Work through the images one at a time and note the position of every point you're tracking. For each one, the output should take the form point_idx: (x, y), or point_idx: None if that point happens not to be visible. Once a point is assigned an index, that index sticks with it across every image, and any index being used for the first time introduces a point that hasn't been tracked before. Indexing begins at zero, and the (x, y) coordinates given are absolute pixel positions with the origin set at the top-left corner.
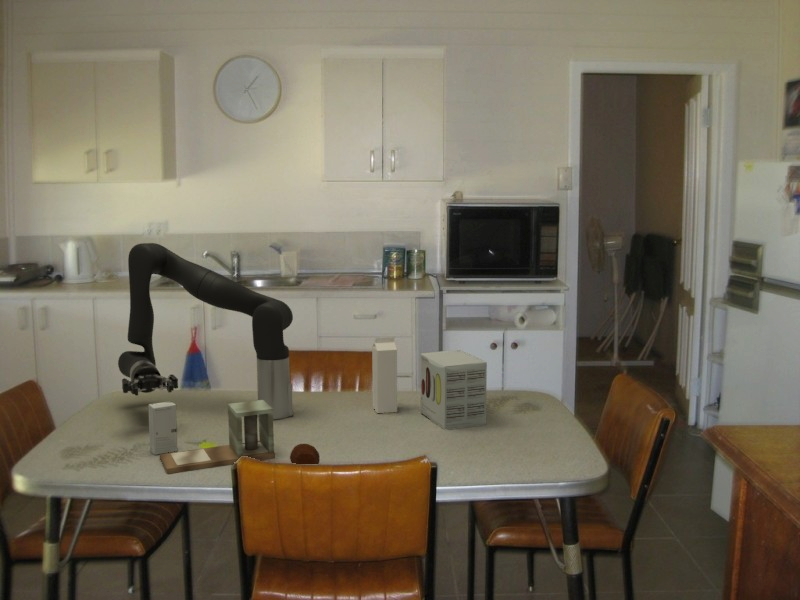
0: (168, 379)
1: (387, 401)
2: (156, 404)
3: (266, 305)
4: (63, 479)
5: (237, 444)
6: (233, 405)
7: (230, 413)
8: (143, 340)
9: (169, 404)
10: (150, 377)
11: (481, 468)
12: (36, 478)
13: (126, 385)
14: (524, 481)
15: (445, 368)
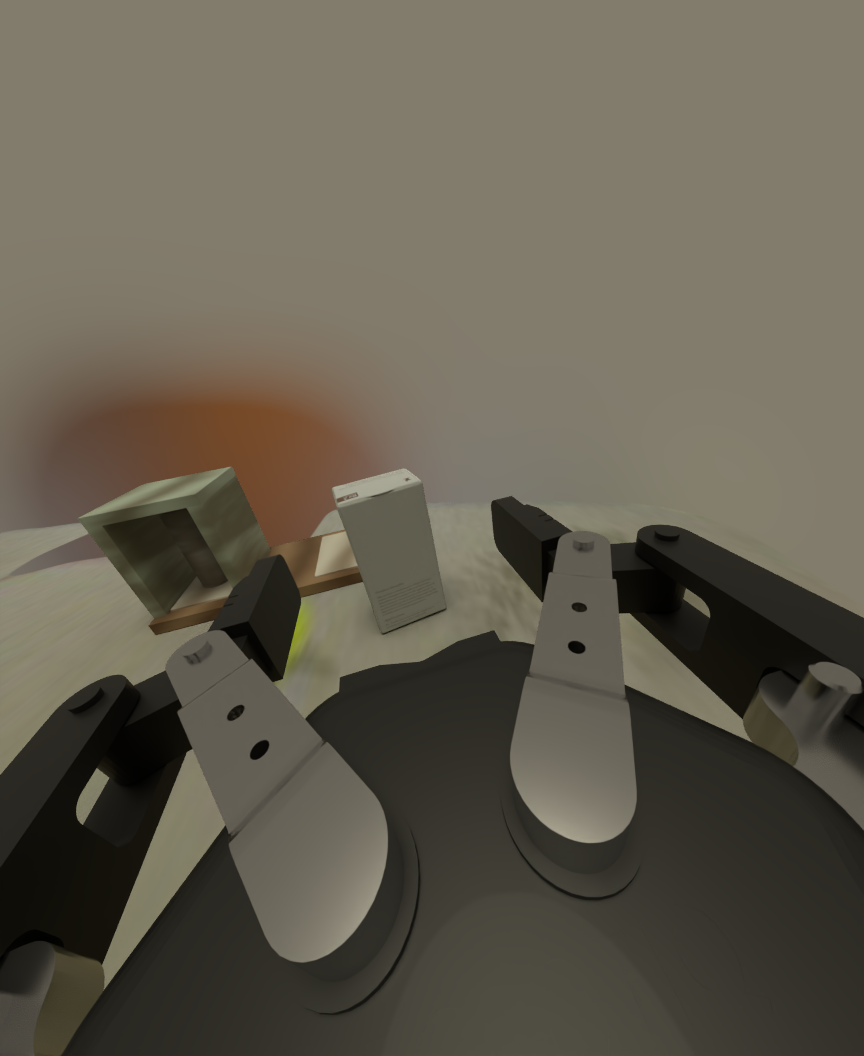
0: (177, 689)
1: None
2: (393, 480)
3: None
4: (578, 505)
5: (260, 529)
6: (194, 488)
7: (217, 502)
8: None
9: (351, 485)
10: (425, 962)
11: (29, 546)
12: (637, 505)
13: (638, 542)
14: (53, 526)
15: None
